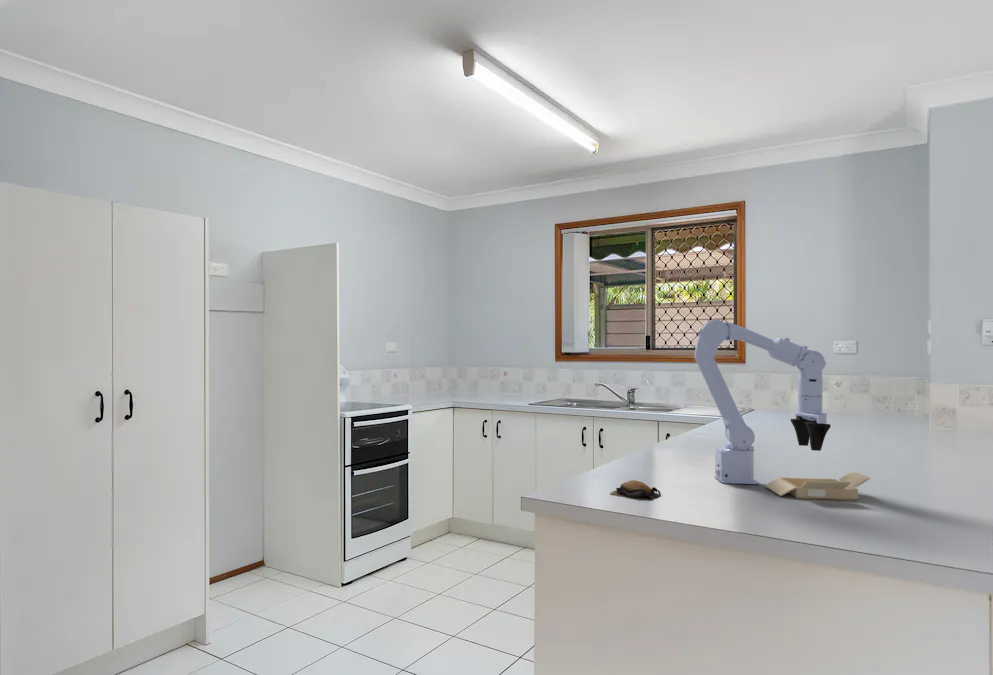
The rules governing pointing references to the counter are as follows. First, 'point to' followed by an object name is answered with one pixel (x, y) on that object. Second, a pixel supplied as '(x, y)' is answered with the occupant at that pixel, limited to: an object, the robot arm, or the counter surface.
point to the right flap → (855, 479)
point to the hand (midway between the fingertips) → (809, 447)
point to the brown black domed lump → (636, 491)
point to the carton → (811, 489)
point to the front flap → (825, 484)
